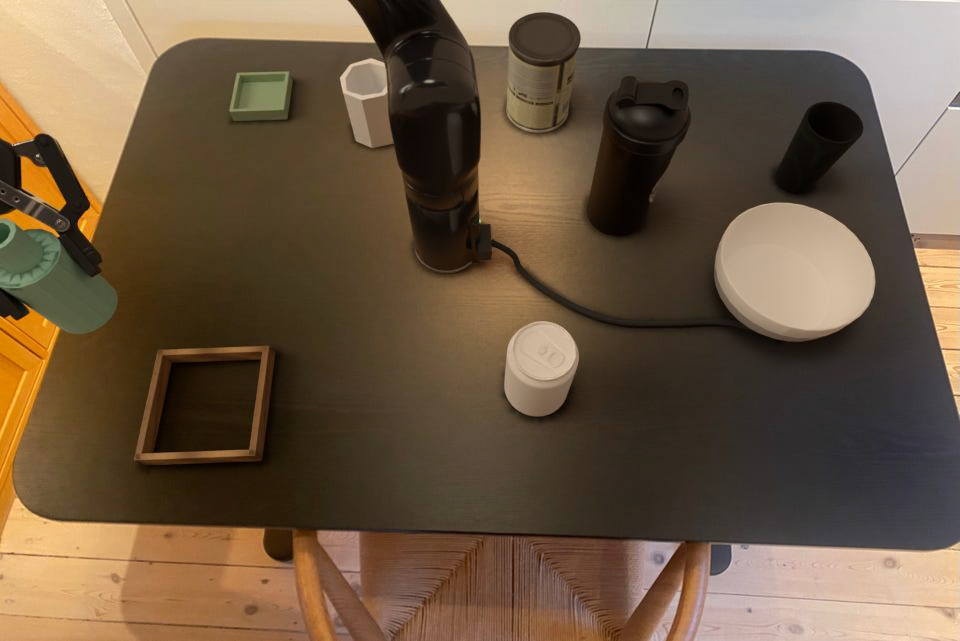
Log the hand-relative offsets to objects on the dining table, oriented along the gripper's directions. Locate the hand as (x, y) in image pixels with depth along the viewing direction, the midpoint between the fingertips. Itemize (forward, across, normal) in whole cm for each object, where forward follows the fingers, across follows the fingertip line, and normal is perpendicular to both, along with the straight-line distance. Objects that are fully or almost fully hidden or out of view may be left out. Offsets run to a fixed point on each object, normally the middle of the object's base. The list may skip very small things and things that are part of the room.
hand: (60, 294), depth 47 cm
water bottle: (+30, +61, +16) cm, 69 cm away
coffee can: (+13, +65, +32) cm, 74 cm away
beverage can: (+39, +33, +7) cm, 51 cm away
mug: (+5, +44, +41) cm, 61 cm away
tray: (-8, +32, +54) cm, 63 cm away
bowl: (+46, +66, 0) cm, 81 cm away
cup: (+39, +86, +7) cm, 94 cm away
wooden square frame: (+21, 0, +24) cm, 32 cm away
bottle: (+2, 0, +5) cm, 5 cm away
